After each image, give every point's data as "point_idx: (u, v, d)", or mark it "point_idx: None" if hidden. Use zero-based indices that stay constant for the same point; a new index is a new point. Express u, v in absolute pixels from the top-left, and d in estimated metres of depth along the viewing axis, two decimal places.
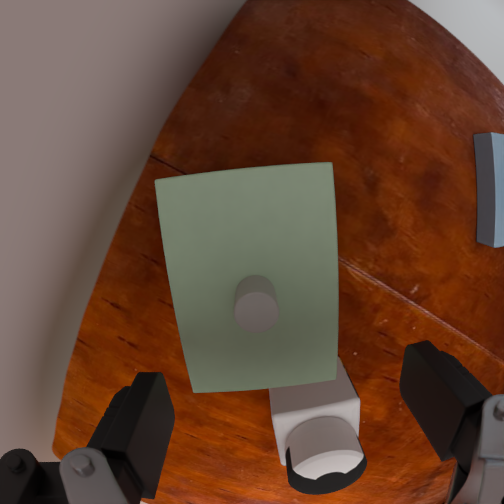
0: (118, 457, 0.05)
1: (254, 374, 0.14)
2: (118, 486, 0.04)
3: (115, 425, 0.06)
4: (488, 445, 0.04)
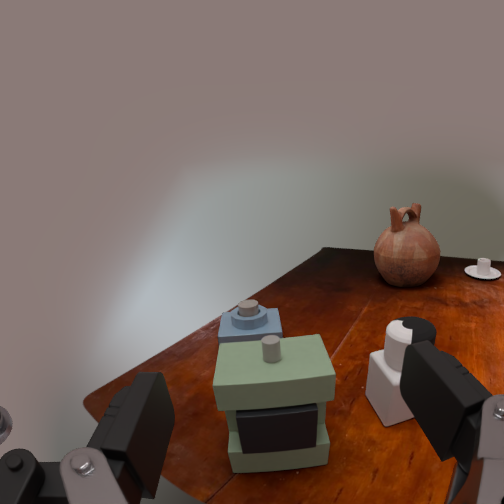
0: (118, 457, 0.05)
1: (317, 355, 0.26)
2: (118, 486, 0.04)
3: (115, 425, 0.06)
4: (488, 445, 0.04)
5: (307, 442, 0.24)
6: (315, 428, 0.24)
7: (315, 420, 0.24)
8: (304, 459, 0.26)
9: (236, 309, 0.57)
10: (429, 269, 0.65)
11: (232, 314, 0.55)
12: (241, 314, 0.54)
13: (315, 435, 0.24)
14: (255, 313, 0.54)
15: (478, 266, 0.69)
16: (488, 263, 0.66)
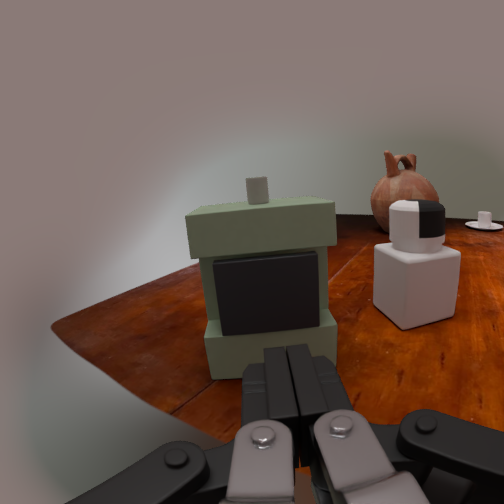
0: (287, 425, 0.06)
1: (311, 199, 0.23)
2: (292, 468, 0.05)
3: (272, 396, 0.07)
4: (341, 471, 0.04)
5: (308, 316, 0.21)
6: (316, 289, 0.21)
7: (315, 274, 0.21)
8: None
9: None
10: None
11: None
12: None
13: (317, 302, 0.21)
14: None
15: (479, 218, 0.66)
16: (489, 215, 0.64)
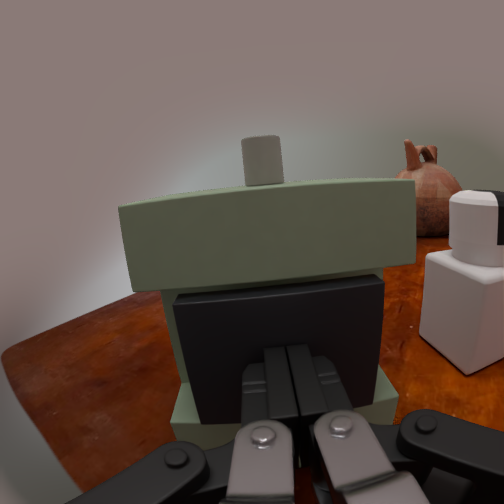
0: (287, 425, 0.06)
1: None
2: (292, 468, 0.05)
3: (272, 396, 0.07)
4: (340, 471, 0.04)
5: (356, 392, 0.11)
6: (376, 346, 0.10)
7: (377, 320, 0.10)
8: None
9: None
10: None
11: None
12: None
13: (375, 368, 0.10)
14: None
15: None
16: None
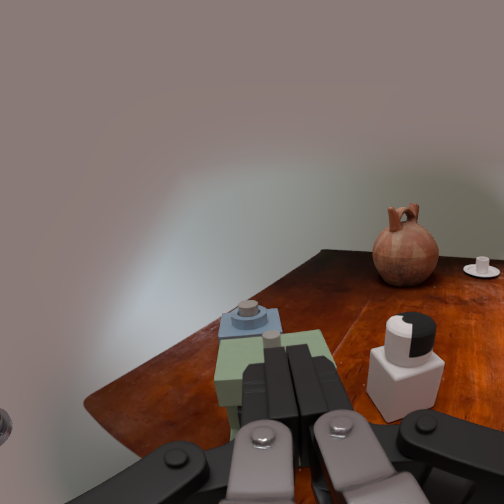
0: (287, 425, 0.06)
1: (318, 350, 0.26)
2: (292, 468, 0.05)
3: (272, 396, 0.07)
4: (340, 471, 0.04)
5: None
6: None
7: None
8: None
9: (236, 310, 0.57)
10: (428, 269, 0.66)
11: (232, 314, 0.55)
12: (241, 314, 0.55)
13: None
14: (255, 313, 0.54)
15: (477, 265, 0.69)
16: (487, 261, 0.67)
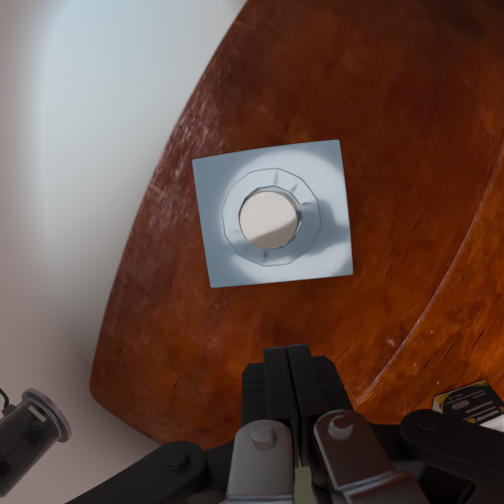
0: (287, 425, 0.06)
1: None
2: (292, 468, 0.05)
3: (272, 396, 0.07)
4: (341, 471, 0.04)
5: None
6: None
7: None
8: None
9: (233, 200, 0.21)
10: None
11: (228, 232, 0.21)
12: None
13: None
14: None
15: None
16: None
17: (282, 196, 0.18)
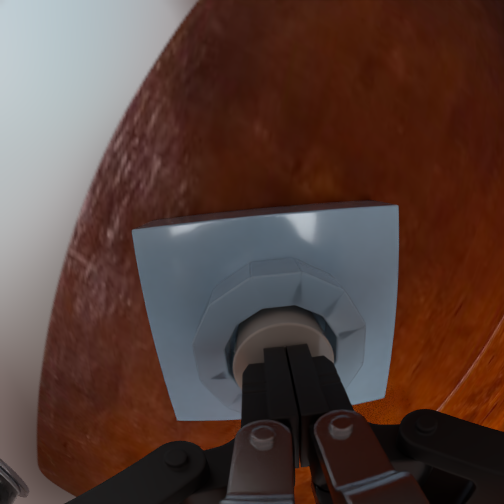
0: (287, 425, 0.06)
1: None
2: (292, 468, 0.05)
3: (272, 396, 0.07)
4: (341, 471, 0.04)
5: None
6: None
7: None
8: None
9: (214, 328, 0.11)
10: None
11: (206, 376, 0.11)
12: None
13: None
14: None
15: None
16: None
17: (313, 332, 0.10)
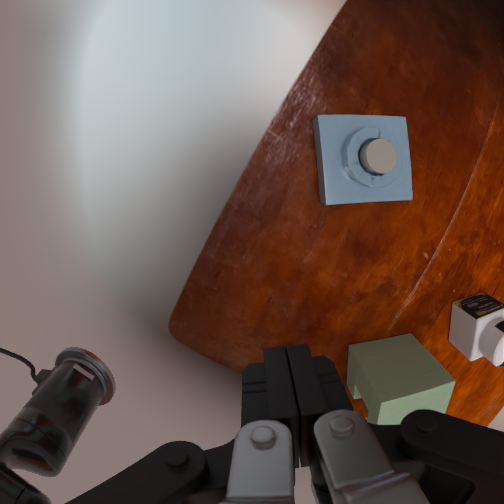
0: (287, 425, 0.06)
1: (442, 407, 0.28)
2: (292, 468, 0.05)
3: (272, 396, 0.07)
4: (340, 471, 0.04)
5: None
6: None
7: None
8: None
9: (354, 143, 0.29)
10: None
11: (351, 163, 0.30)
12: (366, 168, 0.30)
13: None
14: None
15: None
16: None
17: (390, 143, 0.28)
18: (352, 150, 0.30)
